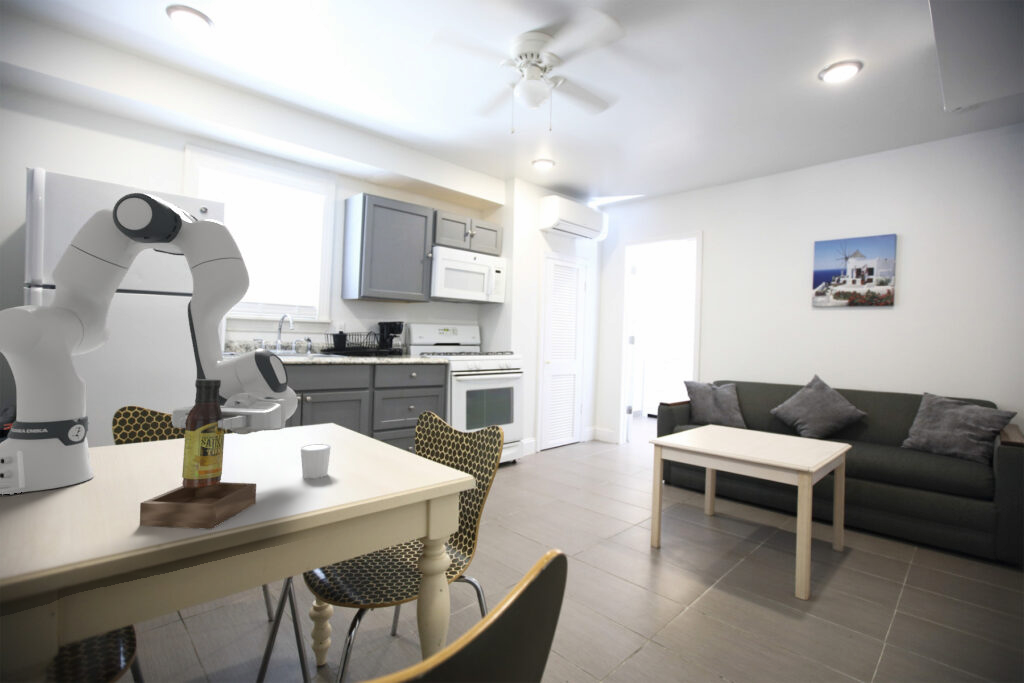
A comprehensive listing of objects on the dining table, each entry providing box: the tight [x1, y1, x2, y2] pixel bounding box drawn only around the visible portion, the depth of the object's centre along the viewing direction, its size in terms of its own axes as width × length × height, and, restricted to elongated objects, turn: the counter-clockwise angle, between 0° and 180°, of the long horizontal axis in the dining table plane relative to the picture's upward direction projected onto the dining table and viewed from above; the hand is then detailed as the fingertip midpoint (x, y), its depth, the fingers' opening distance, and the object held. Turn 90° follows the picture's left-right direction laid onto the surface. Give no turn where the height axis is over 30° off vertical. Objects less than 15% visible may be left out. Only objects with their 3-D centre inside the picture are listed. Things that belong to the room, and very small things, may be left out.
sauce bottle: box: [181, 379, 225, 489], centre depth 89 cm, size 6×6×20 cm
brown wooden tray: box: [139, 481, 257, 530], centre depth 88 cm, size 13×13×4 cm
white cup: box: [300, 443, 331, 479], centre depth 115 cm, size 7×7×7 cm
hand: (201, 424), depth 88 cm, fingers closed on sauce bottle, 6 cm apart
